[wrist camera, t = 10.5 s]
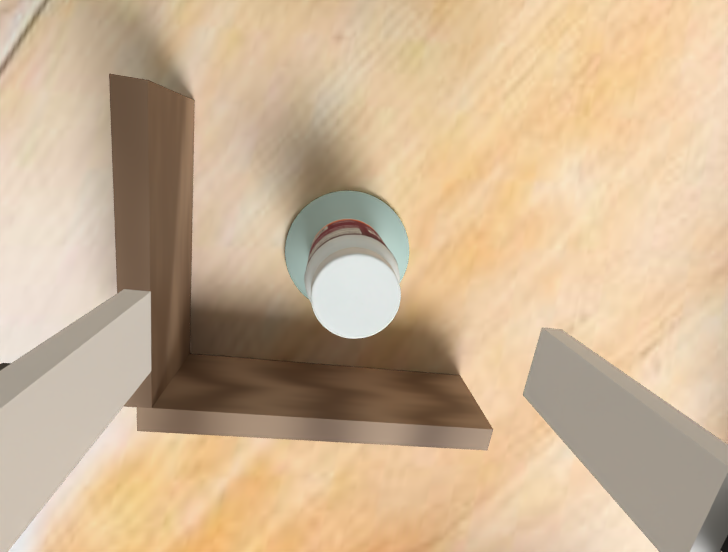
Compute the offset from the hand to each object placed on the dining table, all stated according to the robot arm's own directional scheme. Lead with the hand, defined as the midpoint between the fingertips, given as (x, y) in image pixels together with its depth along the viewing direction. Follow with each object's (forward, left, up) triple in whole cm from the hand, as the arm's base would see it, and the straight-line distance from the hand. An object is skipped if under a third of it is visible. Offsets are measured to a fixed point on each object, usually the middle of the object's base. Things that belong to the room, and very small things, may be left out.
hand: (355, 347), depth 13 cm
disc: (0, 0, -13) cm, 13 cm away
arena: (-1, -1, -13) cm, 13 cm away
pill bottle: (0, 0, -13) cm, 13 cm away
